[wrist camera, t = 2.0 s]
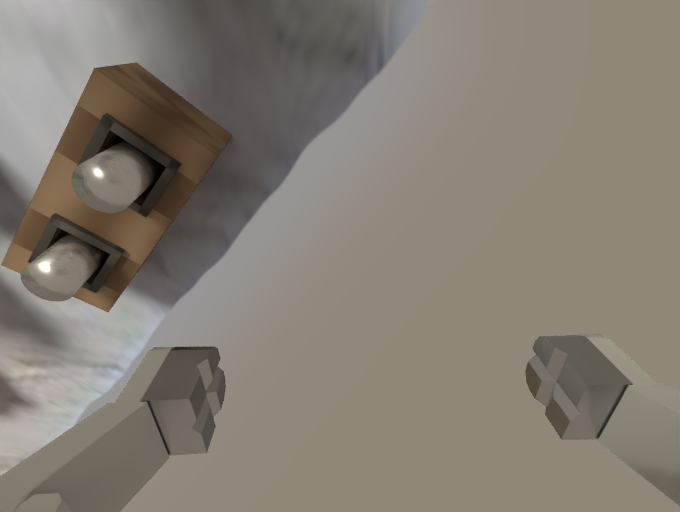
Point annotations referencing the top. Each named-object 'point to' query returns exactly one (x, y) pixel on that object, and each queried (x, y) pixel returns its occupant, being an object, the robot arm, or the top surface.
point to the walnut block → (144, 212)
